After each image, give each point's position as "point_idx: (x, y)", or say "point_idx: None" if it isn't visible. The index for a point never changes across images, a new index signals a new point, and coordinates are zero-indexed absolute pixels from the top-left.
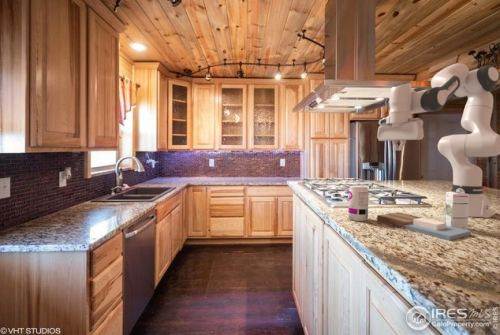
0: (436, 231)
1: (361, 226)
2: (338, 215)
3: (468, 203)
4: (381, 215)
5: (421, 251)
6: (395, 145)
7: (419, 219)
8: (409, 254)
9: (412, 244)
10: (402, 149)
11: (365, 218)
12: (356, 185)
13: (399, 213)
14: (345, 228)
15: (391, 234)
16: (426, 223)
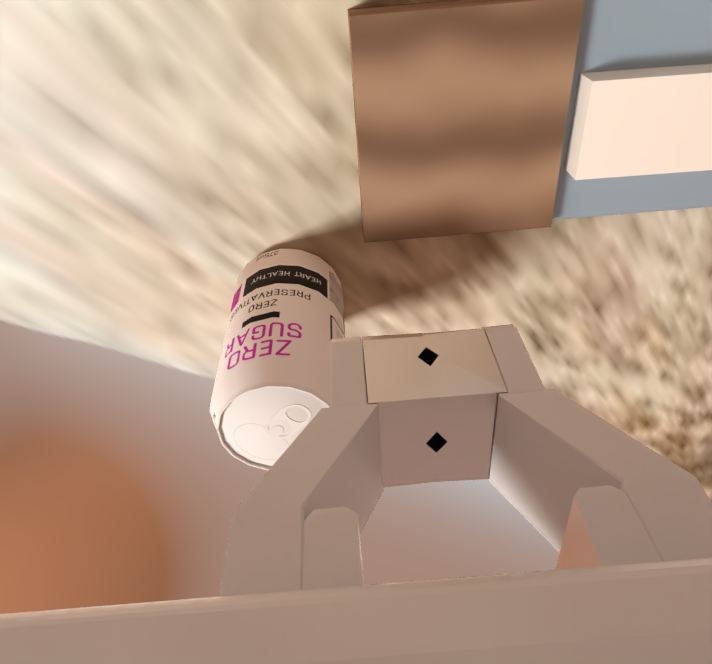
0: (704, 184)
1: None
2: (176, 324)
3: None
4: (375, 218)
5: (707, 383)
6: (369, 510)
7: (599, 146)
8: (689, 426)
9: (661, 357)
10: (516, 344)
11: (342, 295)
12: (221, 412)
13: (384, 43)
14: None
15: (551, 334)
16: (652, 171)
